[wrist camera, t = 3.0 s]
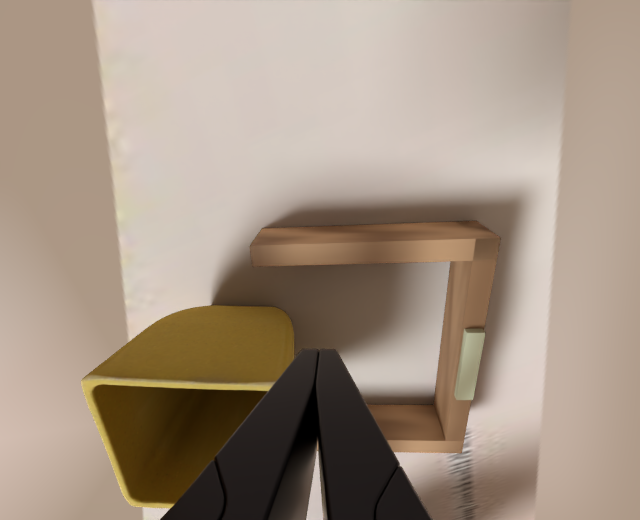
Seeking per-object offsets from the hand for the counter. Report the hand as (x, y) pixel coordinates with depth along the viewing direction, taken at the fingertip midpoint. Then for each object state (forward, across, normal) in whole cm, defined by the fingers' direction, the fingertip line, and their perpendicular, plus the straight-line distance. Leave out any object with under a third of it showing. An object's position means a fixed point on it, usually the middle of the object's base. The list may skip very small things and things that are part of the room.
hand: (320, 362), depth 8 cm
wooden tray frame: (+12, -3, +8) cm, 15 cm away
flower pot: (+12, +6, +8) cm, 16 cm away
